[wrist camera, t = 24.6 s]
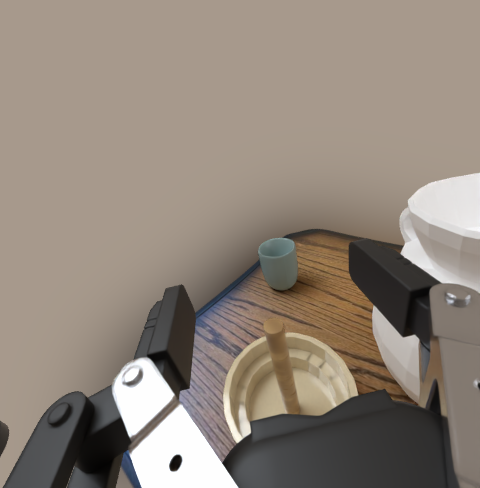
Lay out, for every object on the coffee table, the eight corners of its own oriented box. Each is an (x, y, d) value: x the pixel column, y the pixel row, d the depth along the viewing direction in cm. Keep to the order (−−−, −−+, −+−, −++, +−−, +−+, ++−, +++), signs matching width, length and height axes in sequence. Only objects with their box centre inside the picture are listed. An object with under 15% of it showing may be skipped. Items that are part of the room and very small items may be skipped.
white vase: (340, 354, 36) (335, 203, 24) (432, 307, 39) (468, 154, 27) (493, 533, 19) (711, 338, 8) (627, 427, 23) (925, 177, 11)
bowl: (276, 540, 22) (264, 522, 19) (218, 393, 35) (206, 369, 32) (390, 436, 26) (394, 409, 23) (301, 340, 39) (297, 315, 36)
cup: (292, 299, 48) (286, 259, 43) (260, 291, 52) (251, 254, 48) (304, 276, 53) (300, 239, 49) (274, 271, 58) (267, 236, 53)
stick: (290, 421, 29) (270, 337, 21) (281, 406, 31) (259, 323, 23) (303, 412, 29) (287, 326, 22) (293, 398, 31) (275, 314, 24)
